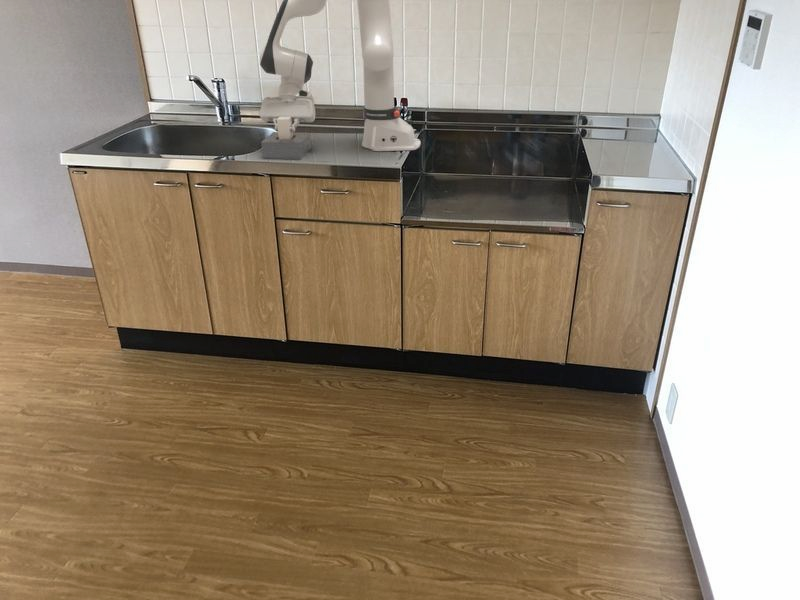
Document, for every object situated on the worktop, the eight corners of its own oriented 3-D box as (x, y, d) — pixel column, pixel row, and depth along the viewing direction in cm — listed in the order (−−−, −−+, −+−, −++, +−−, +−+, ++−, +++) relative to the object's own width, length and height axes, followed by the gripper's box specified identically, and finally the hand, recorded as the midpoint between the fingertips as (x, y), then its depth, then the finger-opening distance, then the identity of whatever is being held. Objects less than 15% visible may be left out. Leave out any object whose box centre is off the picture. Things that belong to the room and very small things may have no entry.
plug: (294, 146, 247) (291, 116, 242) (290, 149, 244) (288, 119, 238) (283, 146, 248) (280, 116, 243) (279, 149, 244) (276, 119, 239)
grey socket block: (310, 149, 252) (309, 133, 249) (300, 159, 240) (299, 142, 237) (274, 148, 254) (273, 132, 251) (263, 158, 241) (261, 141, 239)
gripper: (260, 92, 244) (254, 125, 240) (314, 92, 242) (309, 126, 238) (265, 102, 250) (259, 134, 246) (318, 102, 248) (313, 135, 244)
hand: (284, 130), depth 242 cm, fingers closed on plug, 4 cm apart
